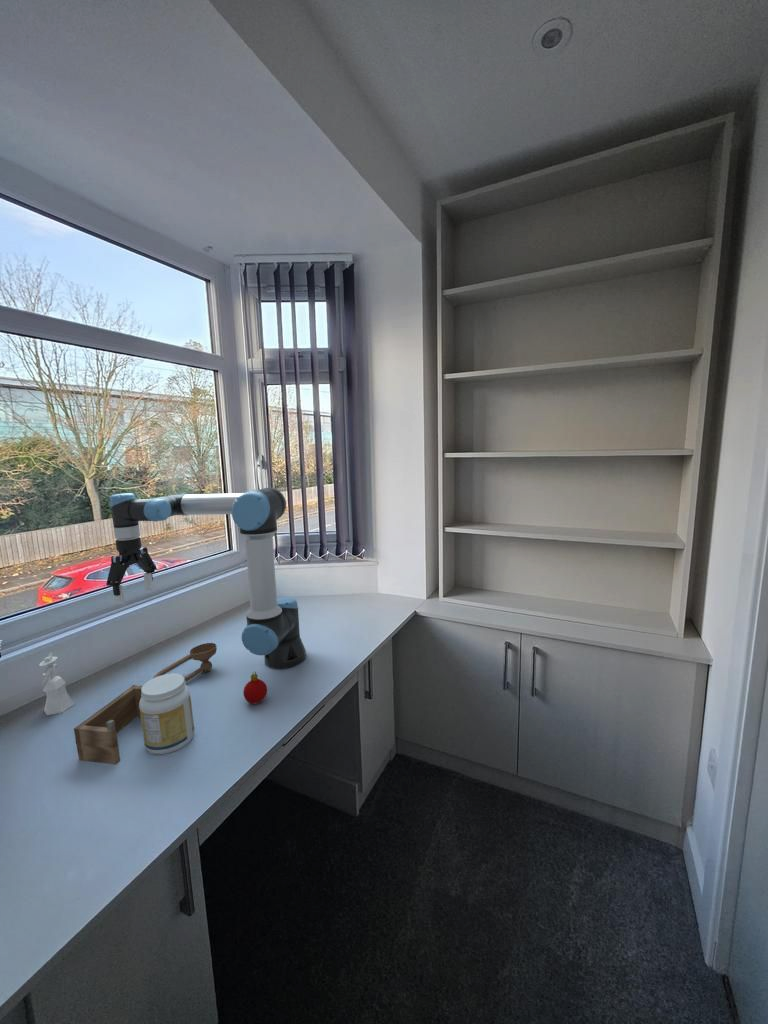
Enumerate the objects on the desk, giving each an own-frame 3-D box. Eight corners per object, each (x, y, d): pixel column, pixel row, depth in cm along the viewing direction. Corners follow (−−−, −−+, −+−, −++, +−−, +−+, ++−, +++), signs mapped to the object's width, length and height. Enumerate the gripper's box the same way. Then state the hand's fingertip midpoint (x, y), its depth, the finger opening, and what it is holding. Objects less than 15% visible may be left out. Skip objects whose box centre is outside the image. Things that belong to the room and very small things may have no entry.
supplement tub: (160, 726, 122) (153, 671, 119) (202, 726, 121) (196, 670, 119) (134, 757, 110) (126, 697, 107) (181, 756, 109) (173, 696, 107)
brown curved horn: (142, 688, 145) (183, 694, 137) (137, 664, 144) (179, 669, 136) (197, 656, 166) (235, 659, 159) (193, 634, 165) (231, 637, 158)
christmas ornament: (258, 710, 127) (256, 679, 126) (239, 706, 130) (236, 675, 128) (272, 697, 134) (270, 667, 133) (254, 693, 136) (251, 664, 135)
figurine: (47, 705, 134) (38, 652, 132) (77, 698, 137) (69, 646, 135) (39, 717, 128) (29, 662, 125) (71, 710, 131) (62, 656, 128)
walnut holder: (169, 715, 127) (164, 680, 125) (115, 764, 107) (109, 723, 105) (137, 712, 129) (132, 677, 127) (78, 760, 109) (72, 719, 107)
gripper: (144, 531, 160) (151, 585, 163) (87, 546, 135) (96, 609, 139) (162, 530, 158) (169, 585, 161) (107, 546, 134) (116, 610, 137)
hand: (135, 596), depth 150 cm, fingers open, 13 cm apart
